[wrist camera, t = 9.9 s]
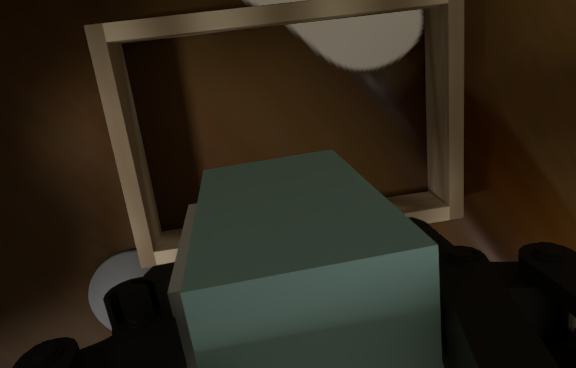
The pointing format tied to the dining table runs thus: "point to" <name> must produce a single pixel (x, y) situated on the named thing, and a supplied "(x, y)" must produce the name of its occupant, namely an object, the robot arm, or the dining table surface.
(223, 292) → the block
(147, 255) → the tray
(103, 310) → the coaster
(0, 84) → the dining table surface
